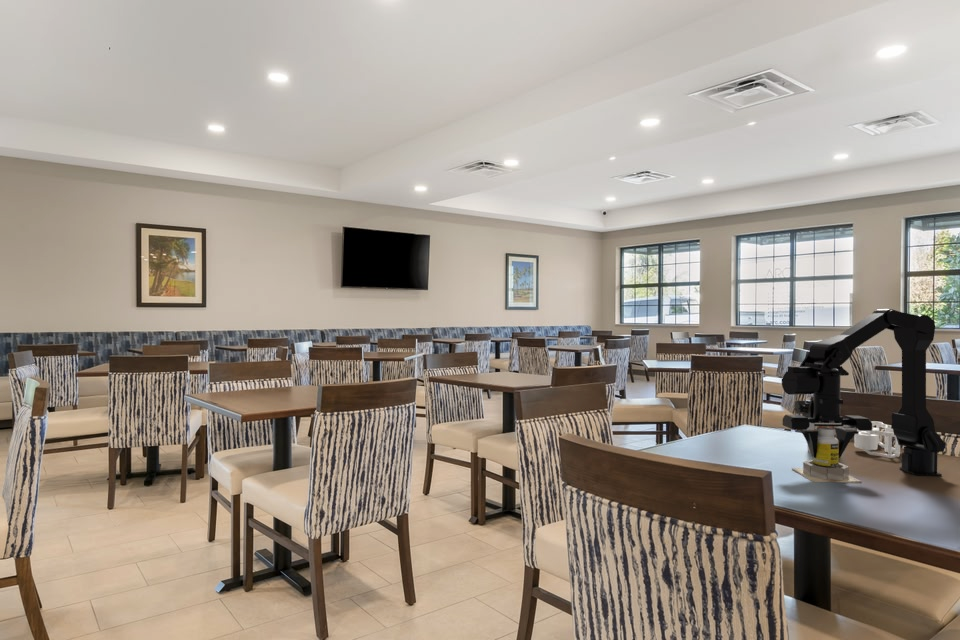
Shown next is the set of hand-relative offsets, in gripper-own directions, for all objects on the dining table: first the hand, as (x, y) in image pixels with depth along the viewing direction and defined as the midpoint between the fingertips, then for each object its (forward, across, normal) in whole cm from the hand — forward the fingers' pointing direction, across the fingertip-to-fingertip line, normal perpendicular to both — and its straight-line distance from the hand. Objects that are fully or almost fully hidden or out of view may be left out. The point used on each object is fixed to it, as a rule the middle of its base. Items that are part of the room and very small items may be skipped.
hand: (826, 457), depth 147 cm
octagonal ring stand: (+5, 0, 0) cm, 5 cm away
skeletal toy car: (+6, -31, -33) cm, 45 cm away
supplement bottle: (+3, 0, 0) cm, 3 cm away
